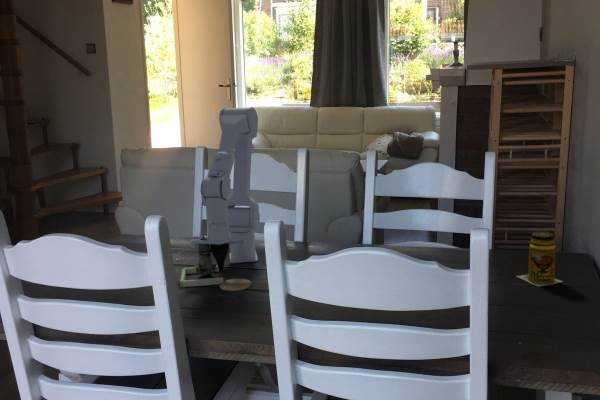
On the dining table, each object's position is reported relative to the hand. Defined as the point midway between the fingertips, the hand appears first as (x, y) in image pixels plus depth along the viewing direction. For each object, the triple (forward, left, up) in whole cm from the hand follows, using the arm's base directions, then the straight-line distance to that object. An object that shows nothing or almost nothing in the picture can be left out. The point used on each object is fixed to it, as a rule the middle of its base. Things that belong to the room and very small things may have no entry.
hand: (221, 271), depth 163 cm
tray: (0, -5, -2) cm, 5 cm away
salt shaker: (0, -4, -2) cm, 4 cm away
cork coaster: (+8, +3, -2) cm, 9 cm away
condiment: (+22, +78, -2) cm, 82 cm away
